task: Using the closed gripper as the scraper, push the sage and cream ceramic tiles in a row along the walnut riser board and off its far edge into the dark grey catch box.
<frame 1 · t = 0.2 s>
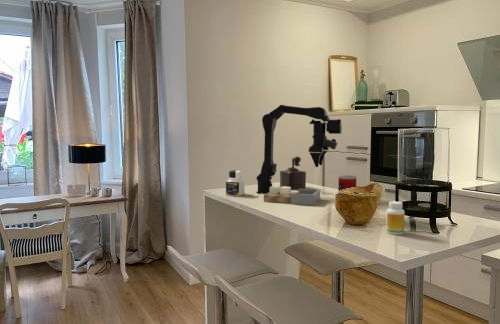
hand: (318, 166, 188), 14 cm above the counter, fingers open, 9 cm apart
supplement bottle: (394, 233, 124), on the counter
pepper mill: (295, 189, 211), on the counter
cream tile: (285, 193, 178), point 3 cm above the counter, touching riser board
sage tile: (274, 193, 179), point 3 cm above the counter, touching riser board
catch box: (306, 201, 175), on the counter
riser board: (281, 200, 179), on the counter
medicine bottle: (235, 194, 194), on the counter
canned food: (347, 200, 177), on the counter
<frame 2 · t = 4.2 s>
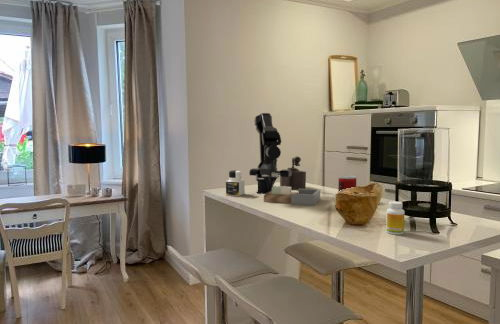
hand: (270, 191, 180), 4 cm above the counter, fingers closed
sage tile: (277, 193, 179), point 3 cm above the counter, touching gripper, riser board
everything else where it was.
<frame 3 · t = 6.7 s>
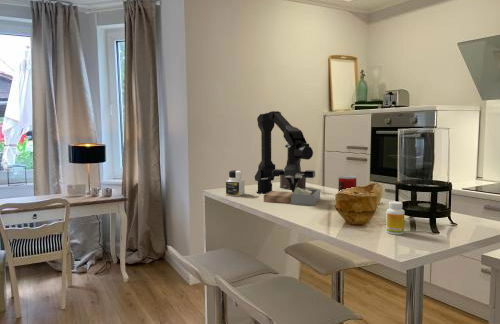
hand: (293, 192, 176), 4 cm above the counter, fingers closed
cream tile: (303, 193, 175), point 3 cm above the counter, tilted 111°, touching catch box, sage tile
sage tile: (298, 195, 176), point 3 cm above the counter, tilted 20°, touching cream tile, gripper
everything else where it was.
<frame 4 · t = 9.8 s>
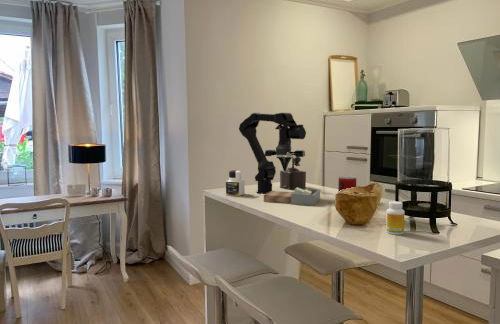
hand: (284, 171, 189), 12 cm above the counter, fingers closed
sage tile: (298, 195, 176), point 3 cm above the counter, tilted 20°, touching cream tile, riser board
everything else where it was.
at the end: sage tile inside the target area (3.8 cm from its centre), point 2.5 cm above the counter; cream tile inside the target area (1.4 cm from its centre), point 3.4 cm above the counter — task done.
